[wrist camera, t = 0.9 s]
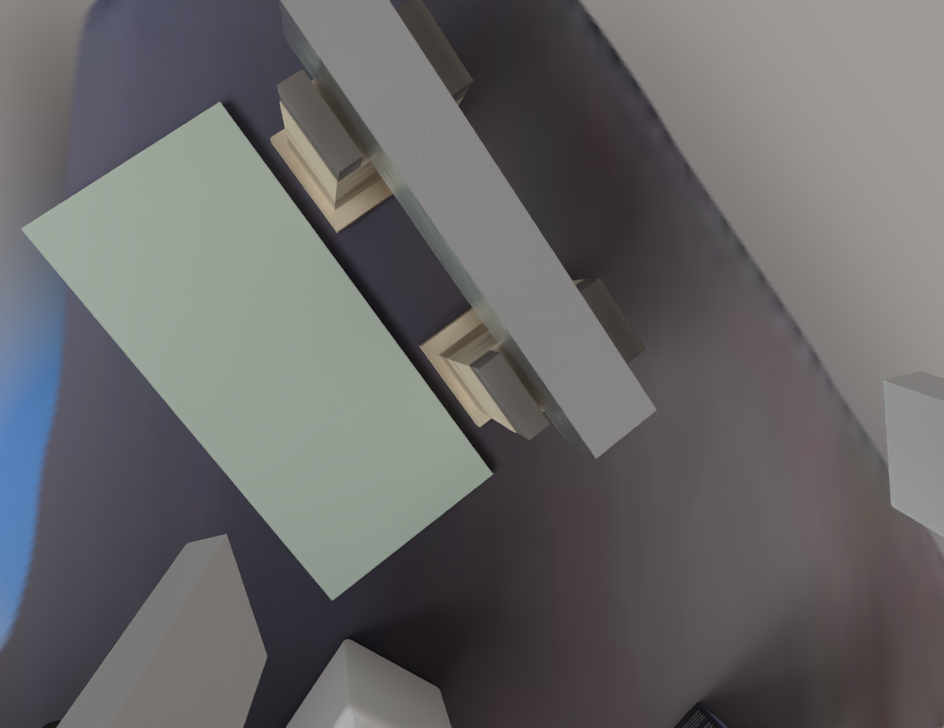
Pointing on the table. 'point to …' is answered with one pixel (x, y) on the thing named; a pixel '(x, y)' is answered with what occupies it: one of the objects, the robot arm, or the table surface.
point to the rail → (467, 214)
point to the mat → (262, 347)
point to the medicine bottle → (369, 695)
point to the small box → (700, 719)
